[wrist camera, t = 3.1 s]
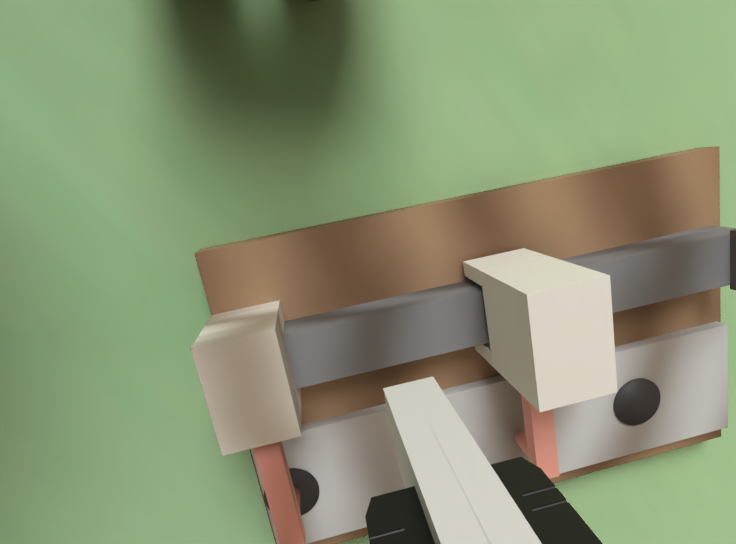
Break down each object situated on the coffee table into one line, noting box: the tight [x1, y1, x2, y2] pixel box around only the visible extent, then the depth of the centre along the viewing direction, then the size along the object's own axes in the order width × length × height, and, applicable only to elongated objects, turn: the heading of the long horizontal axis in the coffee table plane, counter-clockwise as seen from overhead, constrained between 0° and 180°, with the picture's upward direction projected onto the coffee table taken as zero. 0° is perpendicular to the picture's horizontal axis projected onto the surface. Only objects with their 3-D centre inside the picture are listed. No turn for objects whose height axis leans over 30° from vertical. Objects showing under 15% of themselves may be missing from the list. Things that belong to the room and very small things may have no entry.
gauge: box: [191, 146, 736, 544], centre depth 21 cm, size 25×16×5 cm, turn 101°
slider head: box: [463, 248, 618, 479], centre depth 19 cm, size 3×10×6 cm, turn 11°
